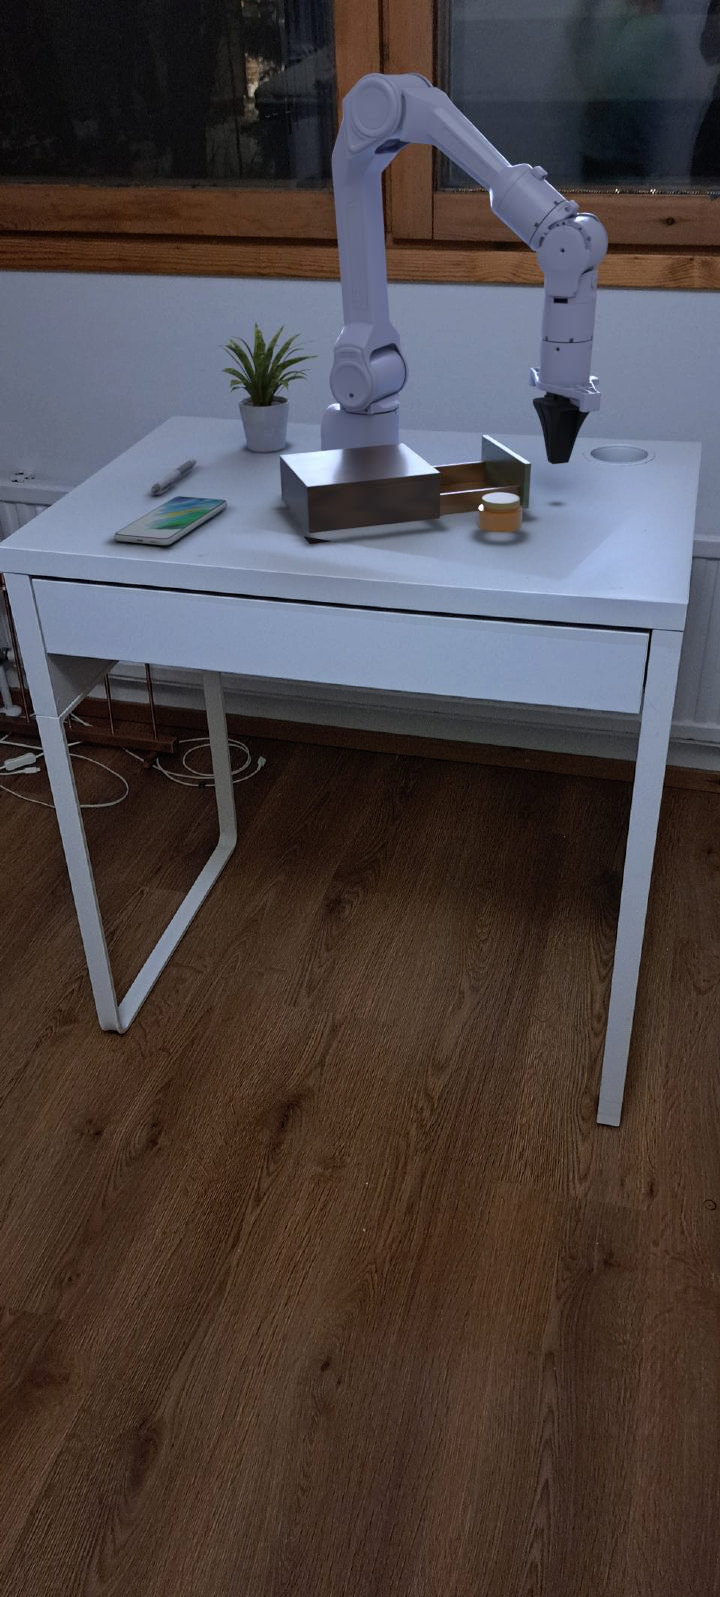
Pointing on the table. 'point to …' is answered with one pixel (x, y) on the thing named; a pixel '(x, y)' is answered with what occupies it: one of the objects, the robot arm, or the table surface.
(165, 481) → the pen
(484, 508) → the jar
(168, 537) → the smartphone
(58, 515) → the table surface
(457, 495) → the drawer
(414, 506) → the cabinet
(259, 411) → the house plant
